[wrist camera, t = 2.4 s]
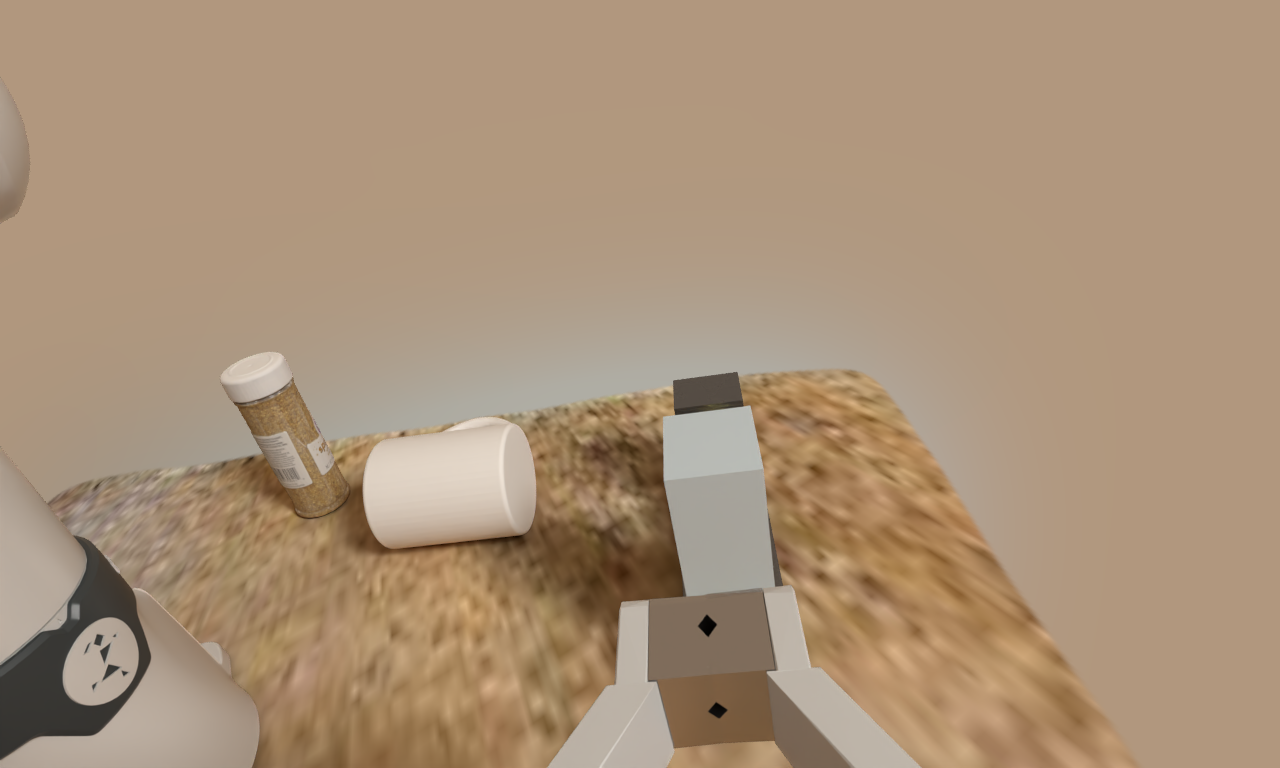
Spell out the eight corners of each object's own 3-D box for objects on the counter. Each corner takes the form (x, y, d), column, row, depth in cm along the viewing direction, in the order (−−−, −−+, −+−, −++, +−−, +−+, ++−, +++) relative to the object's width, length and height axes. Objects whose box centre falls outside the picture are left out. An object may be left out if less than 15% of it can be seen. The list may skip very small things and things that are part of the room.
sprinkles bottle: (362, 491, 58) (294, 354, 51) (316, 527, 55) (237, 386, 48) (331, 478, 60) (262, 345, 53) (285, 511, 57) (205, 375, 50)
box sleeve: (697, 653, 37) (663, 480, 30) (693, 581, 41) (663, 417, 35) (780, 646, 36) (763, 468, 30) (767, 573, 40) (750, 405, 34)
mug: (525, 558, 48) (494, 469, 44) (390, 572, 49) (347, 487, 45) (549, 453, 58) (525, 373, 54) (437, 467, 59) (405, 390, 55)
